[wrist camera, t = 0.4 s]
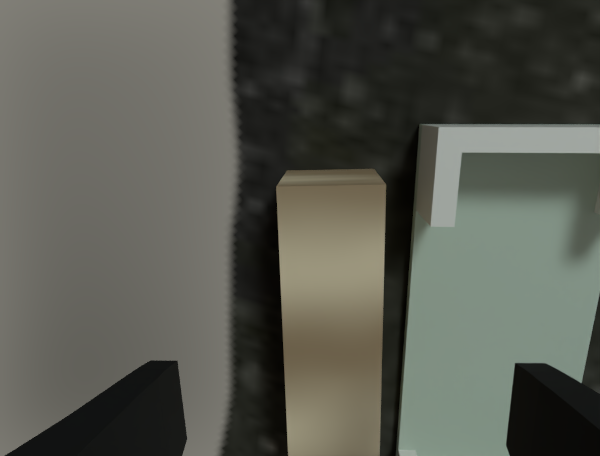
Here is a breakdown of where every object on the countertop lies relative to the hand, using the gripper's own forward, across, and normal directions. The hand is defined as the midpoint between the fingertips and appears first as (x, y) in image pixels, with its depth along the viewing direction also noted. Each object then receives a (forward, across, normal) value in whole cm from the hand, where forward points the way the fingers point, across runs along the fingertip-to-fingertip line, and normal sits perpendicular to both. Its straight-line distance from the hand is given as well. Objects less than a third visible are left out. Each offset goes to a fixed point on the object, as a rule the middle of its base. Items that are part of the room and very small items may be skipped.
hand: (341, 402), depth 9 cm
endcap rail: (+9, -7, +4) cm, 12 cm away
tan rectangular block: (+10, 0, +2) cm, 10 cm away
